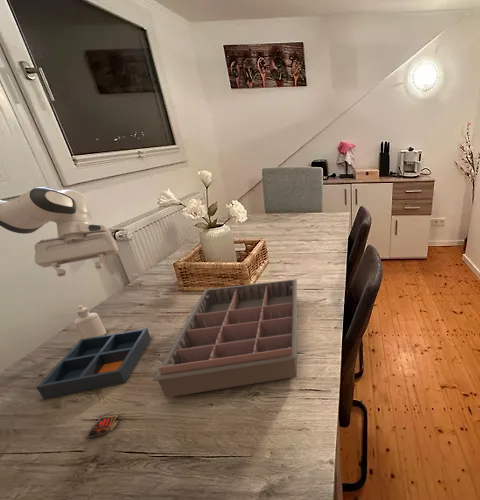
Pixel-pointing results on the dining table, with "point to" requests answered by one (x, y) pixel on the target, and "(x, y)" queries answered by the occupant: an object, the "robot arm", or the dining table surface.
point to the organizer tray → (234, 340)
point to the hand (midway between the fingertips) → (80, 271)
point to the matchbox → (103, 425)
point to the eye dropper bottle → (88, 324)
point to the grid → (96, 363)
